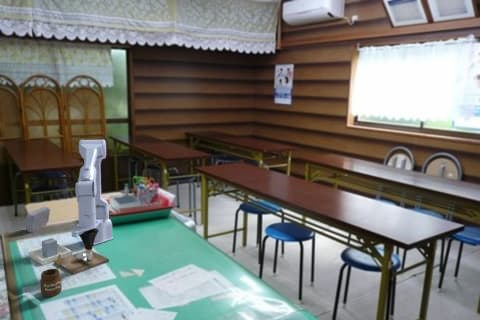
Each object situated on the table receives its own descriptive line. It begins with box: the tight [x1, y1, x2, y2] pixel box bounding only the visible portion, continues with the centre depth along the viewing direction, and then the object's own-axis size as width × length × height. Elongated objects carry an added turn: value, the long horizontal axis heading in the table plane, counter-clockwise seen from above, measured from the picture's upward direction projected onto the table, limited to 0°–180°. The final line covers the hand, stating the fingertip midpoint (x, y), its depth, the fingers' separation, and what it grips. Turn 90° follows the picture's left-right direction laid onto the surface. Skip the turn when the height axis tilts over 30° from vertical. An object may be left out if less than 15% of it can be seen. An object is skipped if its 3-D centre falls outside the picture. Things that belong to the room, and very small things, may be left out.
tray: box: [28, 243, 73, 266], centre depth 144 cm, size 11×11×2 cm
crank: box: [75, 248, 93, 264], centre depth 138 cm, size 8×4×6 cm, turn 52°
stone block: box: [25, 206, 51, 233], centre depth 171 cm, size 12×5×10 cm, turn 168°
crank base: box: [53, 249, 110, 275], centre depth 140 cm, size 14×14×1 cm
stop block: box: [41, 237, 58, 258], centre depth 144 cm, size 4×4×6 cm
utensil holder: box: [38, 254, 62, 298], centre depth 117 cm, size 6×6×12 cm
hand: (88, 249), depth 135 cm, fingers closed, pressing on crank
